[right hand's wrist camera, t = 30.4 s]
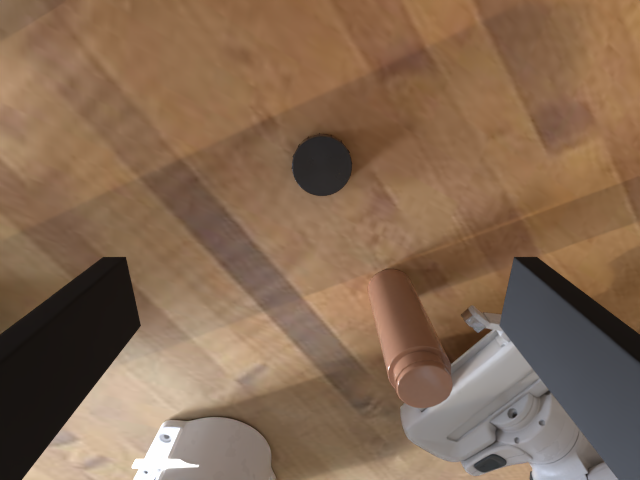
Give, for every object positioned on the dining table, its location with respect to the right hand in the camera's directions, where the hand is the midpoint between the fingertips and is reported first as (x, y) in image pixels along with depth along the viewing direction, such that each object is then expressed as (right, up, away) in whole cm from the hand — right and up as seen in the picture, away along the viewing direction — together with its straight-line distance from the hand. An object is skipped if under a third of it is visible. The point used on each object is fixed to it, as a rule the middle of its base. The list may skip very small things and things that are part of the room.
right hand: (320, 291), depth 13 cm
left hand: (+12, -9, +24) cm, 28 cm away
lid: (0, +9, +23) cm, 24 cm away
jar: (+8, -4, +30) cm, 31 cm away
